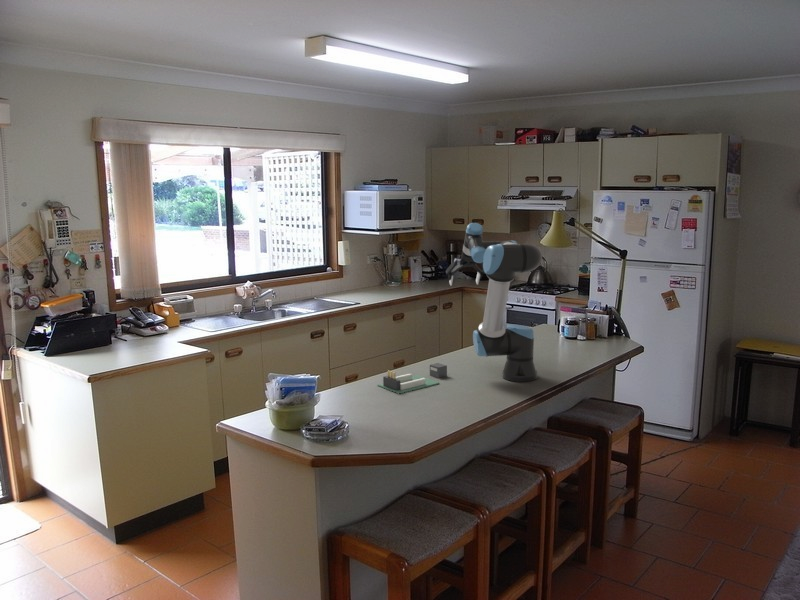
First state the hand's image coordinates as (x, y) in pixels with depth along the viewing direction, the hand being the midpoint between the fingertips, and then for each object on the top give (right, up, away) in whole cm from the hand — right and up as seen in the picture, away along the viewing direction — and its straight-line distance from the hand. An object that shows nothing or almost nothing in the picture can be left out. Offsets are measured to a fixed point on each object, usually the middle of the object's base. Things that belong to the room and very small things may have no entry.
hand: (463, 283), depth 335 cm
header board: (-28, -45, -48) cm, 71 cm away
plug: (-15, -42, -34) cm, 57 cm away
